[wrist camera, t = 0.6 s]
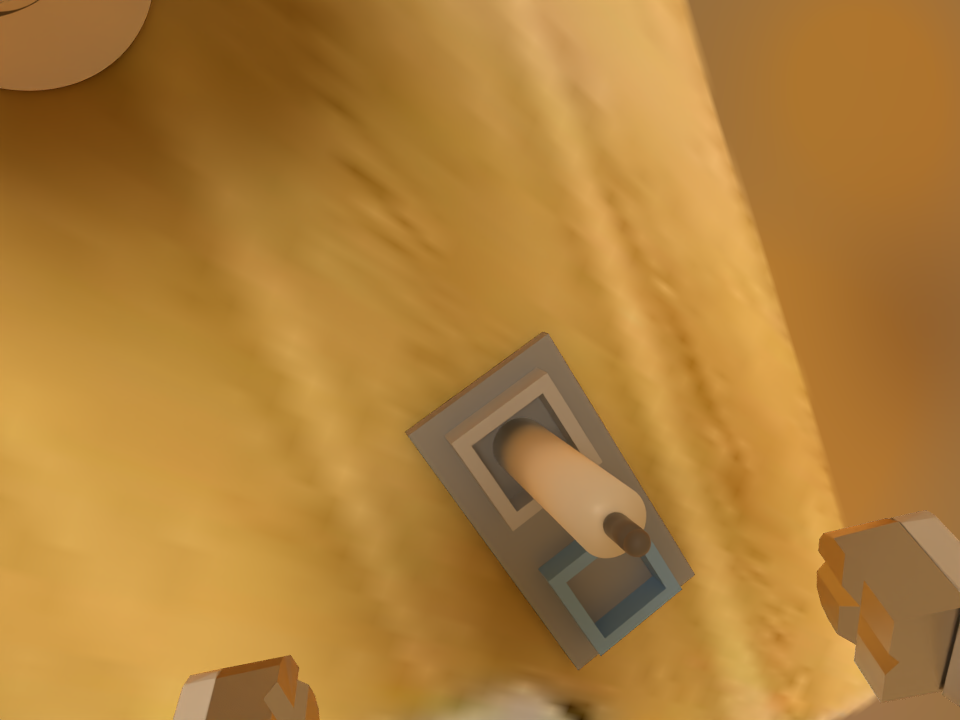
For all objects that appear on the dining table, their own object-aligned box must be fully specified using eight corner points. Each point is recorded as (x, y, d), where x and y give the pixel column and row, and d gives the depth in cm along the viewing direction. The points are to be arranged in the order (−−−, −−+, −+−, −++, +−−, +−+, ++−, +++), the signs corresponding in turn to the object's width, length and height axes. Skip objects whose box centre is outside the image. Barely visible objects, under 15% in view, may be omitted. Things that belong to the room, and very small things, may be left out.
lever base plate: (405, 431, 48) (413, 444, 45) (542, 331, 49) (559, 337, 47) (572, 663, 55) (589, 686, 52) (687, 568, 57) (709, 586, 54)
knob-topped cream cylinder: (482, 440, 48) (591, 544, 32) (527, 406, 49) (657, 492, 33) (511, 482, 50) (630, 603, 34) (555, 449, 50) (693, 552, 34)
